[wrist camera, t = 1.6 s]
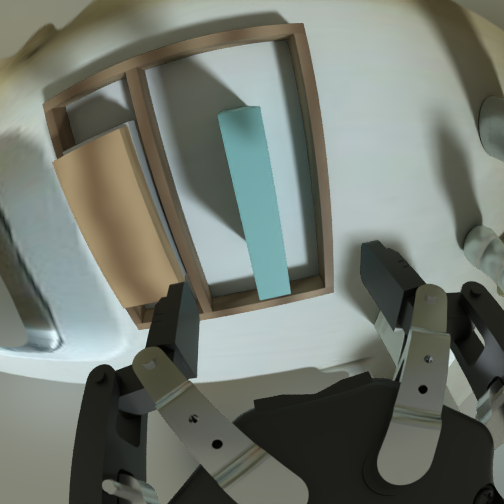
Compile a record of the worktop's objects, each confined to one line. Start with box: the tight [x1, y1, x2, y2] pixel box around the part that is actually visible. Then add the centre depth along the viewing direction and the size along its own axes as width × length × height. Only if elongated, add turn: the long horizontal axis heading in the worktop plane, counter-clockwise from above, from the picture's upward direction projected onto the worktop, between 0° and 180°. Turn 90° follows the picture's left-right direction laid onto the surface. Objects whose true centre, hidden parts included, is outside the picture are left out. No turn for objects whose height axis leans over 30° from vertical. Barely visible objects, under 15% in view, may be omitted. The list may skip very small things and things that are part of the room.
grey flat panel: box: [63, 120, 186, 278], centre depth 23 cm, size 7×16×2 cm, turn 12°
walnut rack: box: [43, 23, 334, 330], centre depth 24 cm, size 24×28×2 cm
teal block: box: [217, 106, 291, 300], centre depth 22 cm, size 2×14×9 cm, turn 11°
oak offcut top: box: [52, 126, 186, 308], centre depth 22 cm, size 7×16×2 cm, turn 12°
